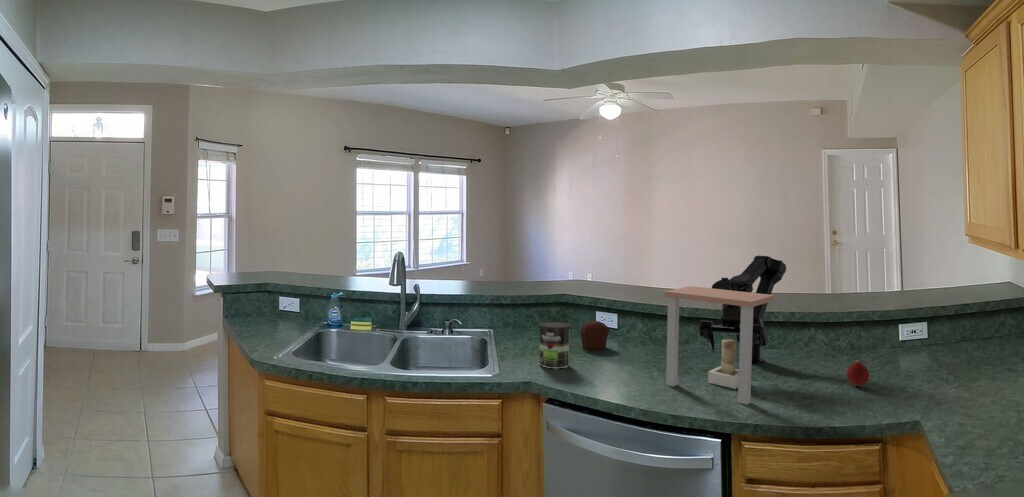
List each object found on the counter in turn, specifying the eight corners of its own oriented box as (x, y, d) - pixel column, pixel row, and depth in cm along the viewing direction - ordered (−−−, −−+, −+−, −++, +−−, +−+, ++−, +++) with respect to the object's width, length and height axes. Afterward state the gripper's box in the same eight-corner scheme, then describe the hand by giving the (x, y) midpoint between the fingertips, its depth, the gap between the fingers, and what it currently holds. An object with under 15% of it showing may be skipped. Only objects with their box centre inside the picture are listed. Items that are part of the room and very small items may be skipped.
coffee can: (564, 370, 186) (564, 328, 185) (534, 367, 190) (535, 326, 189) (573, 362, 196) (573, 322, 195) (544, 359, 200) (545, 320, 198)
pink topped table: (688, 373, 183) (690, 286, 181) (771, 392, 164) (774, 295, 162) (662, 384, 172) (664, 291, 169) (748, 406, 153) (751, 301, 151)
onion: (865, 384, 172) (867, 358, 171) (870, 390, 166) (872, 363, 166) (843, 382, 174) (845, 357, 173) (848, 388, 168) (849, 361, 168)
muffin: (577, 350, 212) (578, 324, 212) (579, 343, 223) (579, 318, 222) (610, 352, 210) (610, 325, 210) (609, 344, 221) (610, 319, 220)
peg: (724, 379, 177) (725, 338, 176) (736, 382, 174) (738, 340, 173) (718, 382, 174) (719, 340, 173) (731, 385, 171) (732, 343, 170)
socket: (720, 376, 180) (720, 366, 179) (746, 382, 174) (747, 371, 173) (708, 382, 174) (708, 371, 173) (735, 388, 168) (735, 377, 167)
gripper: (700, 295, 183) (696, 337, 174) (763, 299, 176) (763, 342, 166) (701, 315, 191) (698, 355, 181) (762, 319, 183) (761, 361, 174)
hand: (729, 353), depth 176 cm, fingers open, 9 cm apart
